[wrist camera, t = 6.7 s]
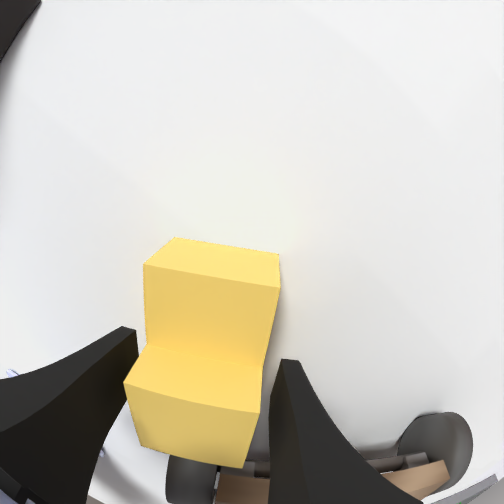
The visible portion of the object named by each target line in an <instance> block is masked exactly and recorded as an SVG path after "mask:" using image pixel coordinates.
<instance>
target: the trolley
mask: <svg viewBox="0 0 504 504" xmlns="http://www.w3.org/2000/svg"><path fill="white" fill-rule="evenodd" d="M472 452H473V438H472V433H471V430H470V427H469V425H468V424H467V422H466V421H465V419H464V418H463V417H462V416H460V415H459V414H457V413H454V412H444V413H439V414H433V415H427V416H422V417H420V418H418V419H416V420H415V421H413V422H412V423H411V424H410V425H409V427H408V428H407V429H406V431H405V433H404V435H403V437H402V439H401V441H400V445H399V448H398V453H397V456H394V457H388V458H381V459H373V460H366V461H367V462H368V463H369V464H370V465H371V466H372V467H373V468H374V469H376V470H377V471H378V472H379V473H384V472H390V471H393V472H391V473H385V474H381V475H382V476H383V477H385V478H386V479H387V480H389V481H390V482H391V483H393V484H394V485H395V486H397V487H398V488H400V489H401V490H403V491H405V492H406V493H408V494H410V495H411V496H413V497H415V498H416V499H418V500H422V499H423V498H425V497H426V496H429V495H432V494H435V493H438V492H441V491H443V490H446V489H448V488H450V487H452V486H453V485H455V484H456V483H457V482H458V481H459V480H460V479H461V478H462V477H463V475H464V474H465V472H466V470H467V469H468V466H469V464H470V461H471V457H472ZM217 472H220V477H219V483H218V488H217V494H216V500H215V504H268V495H269V485H270V479H261V478H254V477H264V478H270V461H259V460H249V459H245V462H244V465H243V468H234V467H227V466H221V465H215V464H210V463H205V462H200V461H195V460H191V459H186V458H182V457H178V456H174V455H170V456H169V461H168V467H167V474H166V487H165V492H166V499H167V502H168V503H172V504H213V499H214V493H215V491H214V486H215V480H216V475H217Z"/></svg>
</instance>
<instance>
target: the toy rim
mask: <svg viewBox="0 0 504 504" xmlns="http://www.w3.org/2000/svg"><path fill="white" fill-rule="evenodd" d="M497 481H498V480H497V477H496V475H495V474H494V475H492V476H491V477H489V478H487V479H485V480H483V481H481V482H479V483H478V484H476V485H474V486H472V487H470V488H467V489H465V490H463V491H461V492H459V493H457V494H454V495H452V496H450V497H447V498H445V499H442V500H440V501H437V502H434V503H432V504H457V503H458V504H460V502H461V504H467V503H469V502H470V501H472V500H473V499H475V498H476V497H477V496H479V495H480V494H482V493H483V492H484V491H486V490H487V489H488V488H490V487H491V486H492V485H494V484H495V483H496V482H497Z"/></svg>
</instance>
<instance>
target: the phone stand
mask: <svg viewBox="0 0 504 504" xmlns="http://www.w3.org/2000/svg"><path fill="white" fill-rule="evenodd" d="M40 1H41V0H0V61H1V60H2V58H3V56H4V54H5V53H6V51H7V49H8V47H9V46H10V44H11V43H12V41H13V39H14V38H15V36H16V35H17V33H18V32H19V30H20V29H21V27H22V26H23V24H24V23H25V21H26V20H27V19H28V17H29V16H30V14H31V13H32V12H33V10H34V9H35V8H36V6H37V5H38V4H39V3H40Z"/></svg>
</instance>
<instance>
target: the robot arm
mask: <svg viewBox="0 0 504 504" xmlns="http://www.w3.org/2000/svg"><path fill="white" fill-rule="evenodd" d="M138 357H139V353H138V344H137V335H136V330H134V329H130V328H127V327H123V326H121V327H119V328H117V329H116V330H114V331H112V332H110V333H109V334H107V335H105V336H104V337H102V338H100V339H98V340H97V341H95V342H93V343H91V344H90V345H88V346H86V347H84V348H83V349H81V350H79V351H77V352H75V353H73V354H71V355H69V356H67V357H65V358H63V359H61V360H59V361H57V362H55V363H53V364H50V365H48V366H45V367H43V368H40V369H37V370H35V371H32V372H29V373H25V374H21V375H17V374H16V373H14V372H13V371H12V370H10V369H8V370H7V374H8V376H9V378H5V379H0V504H86V500H87V495H88V490H89V486H90V483H91V479H92V475H93V472H94V469H95V466H96V463H97V460H98V457H99V456H100V457H104V453H103V451H102V446H103V444H104V441H105V439H106V437H107V435H108V432H109V430H110V429H111V427H112V425H113V423H114V422H115V420H116V418H117V416H118V414H119V413H120V411H121V409H122V407H123V406H124V404H125V402H126V400H127V396H126V392H125V388H124V383H123V382H124V380H125V379H126V377H127V375H128V374H129V372H130V370H131V369H132V367H133V365H134V364H135V362H136V361H137V359H138ZM269 447H270V485H269V495H268V504H423V502H422V501H420V500H418V499H416V498H415V497H413V496H411V495H410V494H408V493H406V492H405V491H403V490H401V489H400V488H398V487H397V486H395V485H394V484H393V483H391V482H390V481H389V480H387V479H386V478H385V477H383V476H382V475H381V474H380V473H379V472H378V471H377V470H376V469H374V468H373V467H372V466H371V465H370V464H369V463H368V462H367V461H366V460H365V459H364V458H363V457H362V456H361V455H360V454H359V453H358V452H357V451H356V450H355V449H354V448H353V447H352V445H351V444H350V443H349V442H348V441H347V440H346V438H345V437H344V436H343V435H342V433H341V432H340V431H339V429H338V428H337V427H336V425H335V424H334V422H333V421H332V419H331V418H330V416H329V415H328V413H327V412H326V410H325V409H324V407H323V405H322V404H321V402H320V400H319V399H318V397H317V395H316V393H315V392H314V390H313V388H312V386H311V384H310V382H309V380H308V378H307V376H306V374H305V372H304V370H303V368H302V365H301V363H300V362H299V361H298V360H289V359H281V362H280V365H279V369H278V372H277V376H276V379H275V383H274V386H273V389H272V392H271V396H270V407H269Z"/></svg>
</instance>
